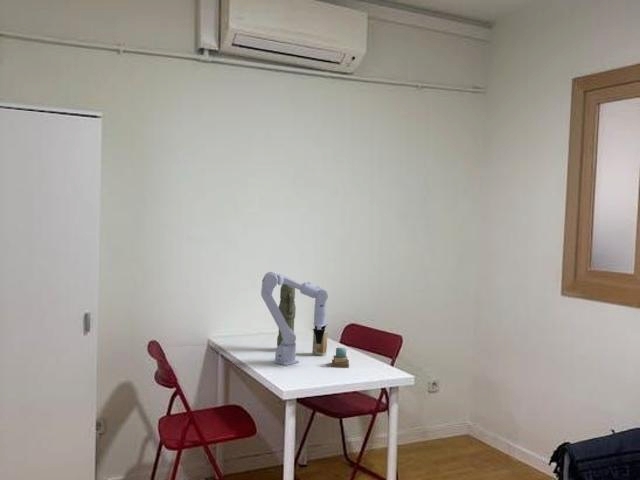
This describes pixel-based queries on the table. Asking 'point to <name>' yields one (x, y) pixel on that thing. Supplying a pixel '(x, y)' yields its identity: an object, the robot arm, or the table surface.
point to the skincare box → (320, 345)
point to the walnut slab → (340, 364)
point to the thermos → (287, 307)
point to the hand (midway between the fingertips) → (319, 342)
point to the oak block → (340, 360)
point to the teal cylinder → (340, 352)
